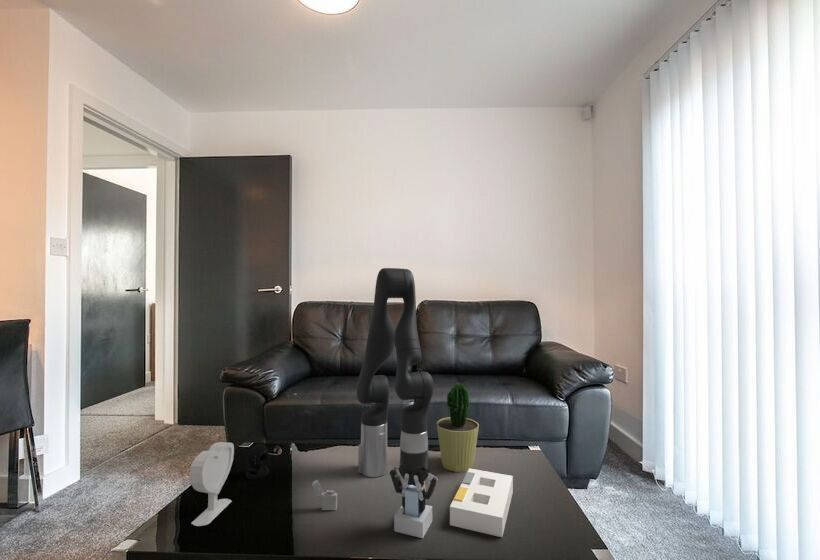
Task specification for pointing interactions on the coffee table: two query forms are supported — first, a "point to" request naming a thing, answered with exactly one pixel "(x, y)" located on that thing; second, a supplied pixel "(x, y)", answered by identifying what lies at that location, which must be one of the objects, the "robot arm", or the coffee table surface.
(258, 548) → the coffee table surface
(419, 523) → the holster
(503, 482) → the port panel
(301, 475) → the coffee table surface
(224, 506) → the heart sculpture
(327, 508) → the lighter
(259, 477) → the webcam
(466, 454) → the potted cactus
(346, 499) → the coffee table surface
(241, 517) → the coffee table surface
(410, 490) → the plug
